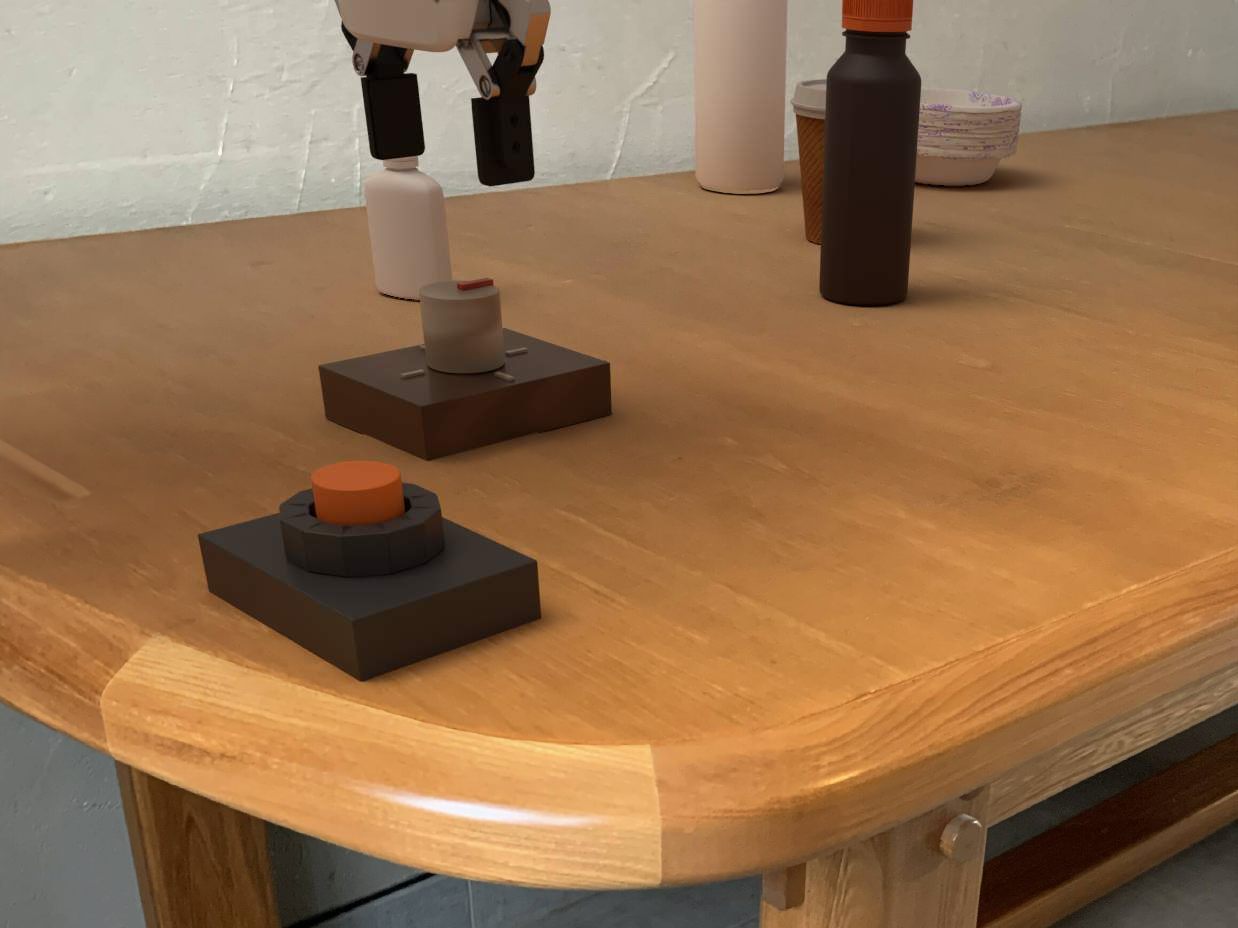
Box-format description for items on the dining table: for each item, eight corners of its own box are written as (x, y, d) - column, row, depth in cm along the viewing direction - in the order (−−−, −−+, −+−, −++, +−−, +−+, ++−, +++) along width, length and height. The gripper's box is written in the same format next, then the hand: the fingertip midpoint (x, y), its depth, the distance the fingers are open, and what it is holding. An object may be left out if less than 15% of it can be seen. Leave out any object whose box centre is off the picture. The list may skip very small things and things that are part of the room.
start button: (347, 537, 61) (341, 495, 60) (300, 513, 63) (293, 472, 62) (422, 516, 64) (417, 475, 63) (374, 493, 66) (368, 454, 65)
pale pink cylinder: (777, 179, 155) (784, -176, 138) (788, 196, 148) (797, -177, 131) (692, 178, 154) (689, -180, 137) (698, 195, 147) (696, -182, 130)
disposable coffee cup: (781, 247, 129) (784, 89, 122) (793, 225, 136) (797, 75, 130) (892, 254, 128) (902, 95, 121) (898, 231, 136) (908, 81, 129)
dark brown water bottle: (861, 281, 119) (875, -12, 108) (925, 298, 115) (947, -5, 104) (800, 293, 115) (808, -10, 104) (864, 311, 111) (881, -2, 100)
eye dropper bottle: (424, 283, 114) (405, 106, 107) (460, 298, 110) (443, 116, 104) (370, 290, 112) (347, 110, 105) (405, 306, 108) (385, 120, 101)
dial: (457, 378, 84) (449, 297, 81) (411, 361, 86) (402, 282, 84) (520, 364, 86) (515, 285, 84) (474, 348, 89) (467, 271, 86)
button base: (361, 683, 60) (345, 576, 57) (208, 592, 66) (188, 493, 64) (542, 619, 65) (535, 519, 63) (384, 541, 72) (372, 447, 69)
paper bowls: (1041, 180, 160) (1050, 96, 156) (962, 198, 150) (970, 109, 146) (922, 161, 168) (928, 81, 163) (840, 177, 158) (844, 92, 153)
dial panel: (427, 462, 81) (420, 403, 79) (325, 418, 87) (317, 362, 85) (612, 414, 89) (610, 359, 87) (508, 376, 95) (504, 324, 93)
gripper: (242, -231, 73) (301, 155, 83) (453, -234, 64) (492, 203, 73) (375, -224, 78) (416, 141, 88) (591, -226, 68) (610, 184, 78)
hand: (451, 169), depth 81 cm, fingers open, 9 cm apart
